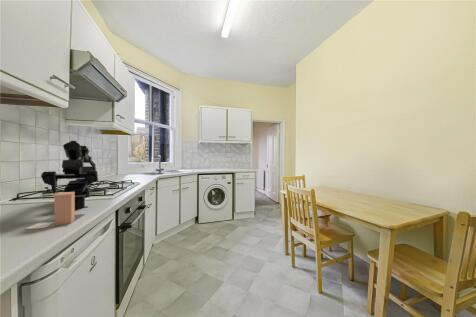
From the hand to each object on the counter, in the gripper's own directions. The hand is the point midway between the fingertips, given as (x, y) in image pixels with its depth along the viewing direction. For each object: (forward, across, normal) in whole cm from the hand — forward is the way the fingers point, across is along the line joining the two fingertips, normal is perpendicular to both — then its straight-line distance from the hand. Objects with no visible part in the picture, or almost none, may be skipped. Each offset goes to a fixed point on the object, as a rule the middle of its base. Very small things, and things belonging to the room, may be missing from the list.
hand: (68, 192), depth 78 cm
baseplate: (+10, -2, +7) cm, 13 cm away
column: (+12, 0, +5) cm, 12 cm away
